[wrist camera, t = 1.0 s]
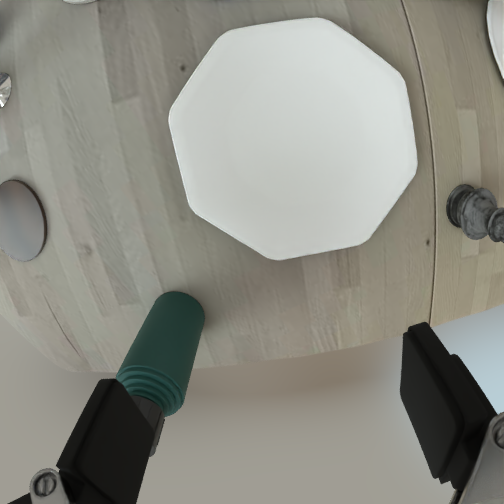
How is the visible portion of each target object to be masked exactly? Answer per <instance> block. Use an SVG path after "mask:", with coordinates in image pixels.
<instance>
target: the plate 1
mask: <svg viewBox="0 0 504 504" xmlns="http://www.w3.org/2000/svg"><path fill="white" fill-rule="evenodd" d="M168 123H169V127H170V131H171V136H172V140H173V144H174V148H175V152H176V156H177V161H178V165H179V169H180V173H181V177H182V180H183V184H184V188H185V192H186V196H187V200H188V204H189V206H190V207H191V208H192V210H193V211H194V212H195V214H196V215H198V216H200V217H201V218H203V219H205V220H206V221H208V222H209V223H211V224H213V225H214V226H216V227H218V228H219V229H221V230H222V231H224V232H226V233H227V234H229V235H231V236H232V237H234V238H235V239H237V240H239V241H240V242H242V243H244V244H245V245H247V246H248V247H250V248H252V249H253V250H255V251H257V252H258V253H260V254H261V255H263V256H265V257H266V258H268V259H273V260H284V259H290V258H295V257H300V256H306V255H311V254H316V253H321V252H327V251H332V250H337V249H342V248H347V247H352V246H358V245H360V244H362V243H364V242H365V241H367V240H368V239H369V238H370V237H371V235H372V234H373V233H374V231H375V230H376V229H377V227H378V226H379V225H380V223H381V222H382V221H383V219H384V218H385V217H386V215H387V214H388V213H389V211H390V210H391V208H392V207H393V206H394V204H395V203H396V202H397V200H398V199H399V197H400V196H401V194H402V193H403V192H404V190H405V189H406V187H407V186H408V185H409V183H410V182H411V180H412V179H413V177H414V176H415V174H416V170H417V166H418V160H417V151H416V143H415V135H414V128H413V121H412V115H411V109H410V103H409V98H408V93H407V88H406V83H405V81H404V79H403V77H402V76H401V74H400V73H399V72H398V71H397V70H396V69H395V68H394V67H392V66H391V65H390V64H389V63H387V62H386V61H385V60H384V59H383V58H381V57H380V56H379V55H378V54H376V53H375V52H374V51H372V50H371V49H370V48H368V47H367V46H366V45H364V44H363V43H362V42H360V41H359V40H358V39H356V38H355V37H353V36H352V35H351V34H349V33H348V32H346V31H345V30H343V29H342V28H341V27H339V26H338V25H336V24H335V23H333V22H332V21H330V20H327V19H323V18H319V17H314V18H303V19H294V20H286V21H278V22H271V23H265V24H259V25H253V26H248V27H242V28H237V29H233V30H229V31H227V32H225V33H224V34H222V35H221V36H219V37H218V39H217V40H216V41H215V43H214V44H213V45H212V47H211V48H210V50H209V51H208V52H207V54H206V55H205V57H204V58H203V60H202V61H201V62H200V64H199V65H198V67H197V68H196V70H195V71H194V73H193V74H192V76H191V77H190V79H189V80H188V82H187V83H186V85H185V86H184V88H183V89H182V91H181V93H180V94H179V96H178V97H177V99H176V100H175V102H174V104H173V105H172V107H171V109H170V112H169V118H168Z"/></svg>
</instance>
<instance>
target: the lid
mask: <svg viewBox="0 0 504 504" xmlns="http://www.w3.org/2000/svg"><path fill="white" fill-rule="evenodd" d="M46 235H47V223H46V216H45V212H44V209H43V206H42V204H41V202H40V200H39V198H38V196H37V195H36V193H35V192H34V191H33V190H32V188H31V187H29V186H28V185H27V184H25V183H24V182H22V181H19V180H9V181H6V182H4V183H2V184H1V185H0V247H1V248H2V250H3V251H4V252H5V253H6V254H7V255H8V256H10V257H11V258H13V259H15V260H18V261H29V260H32V259H33V258H35V257H36V256H37V255H39V253H40V252H41V251H42V249H43V247H44V244H45V241H46Z"/></svg>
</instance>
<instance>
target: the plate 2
mask: <svg viewBox="0 0 504 504" xmlns="http://www.w3.org/2000/svg"><path fill="white" fill-rule="evenodd" d="M486 21H487V30H488V37H489V40H490V44H491V48H492V52H493V56H494V58H495V61H496V63H497V66H498V68H499V71H500V73H501V76H502V78H503V80H504V0H489V1H488V3H487V12H486Z"/></svg>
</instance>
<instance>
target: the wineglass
mask: <svg viewBox="0 0 504 504" xmlns="http://www.w3.org/2000/svg"><path fill="white" fill-rule="evenodd" d="M10 91H11V80H10V77H9V76H8V74H6V73H1V74H0V108H1V107H2V106H3V105H4V104H5V103H6V102H7V100H8V98H9V95H10Z"/></svg>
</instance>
